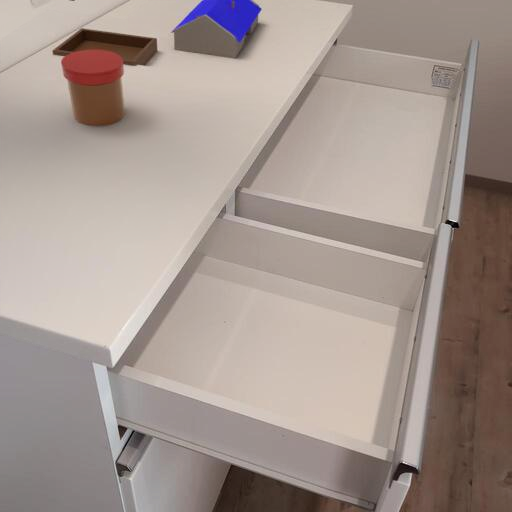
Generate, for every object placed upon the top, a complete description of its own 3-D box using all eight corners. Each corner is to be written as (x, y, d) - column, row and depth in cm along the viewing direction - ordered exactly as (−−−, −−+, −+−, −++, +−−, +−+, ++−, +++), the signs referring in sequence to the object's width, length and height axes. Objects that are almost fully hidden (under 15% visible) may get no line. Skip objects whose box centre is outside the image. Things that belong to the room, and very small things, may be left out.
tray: (54, 64, 99) (52, 50, 98) (83, 40, 109) (81, 28, 107) (135, 75, 98) (134, 62, 96) (157, 51, 107) (156, 38, 105)
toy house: (239, 58, 107) (240, 19, 102) (171, 48, 108) (169, 10, 103) (261, 23, 123) (263, -12, 118) (201, 15, 125) (201, -20, 120)
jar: (66, 132, 81) (55, 70, 75) (87, 110, 87) (78, 50, 81) (115, 140, 80) (107, 78, 74) (133, 117, 86) (127, 57, 80)
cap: (52, 80, 75) (50, 68, 74) (78, 58, 82) (76, 46, 81) (110, 88, 75) (109, 76, 73) (132, 65, 81) (131, 53, 80)
